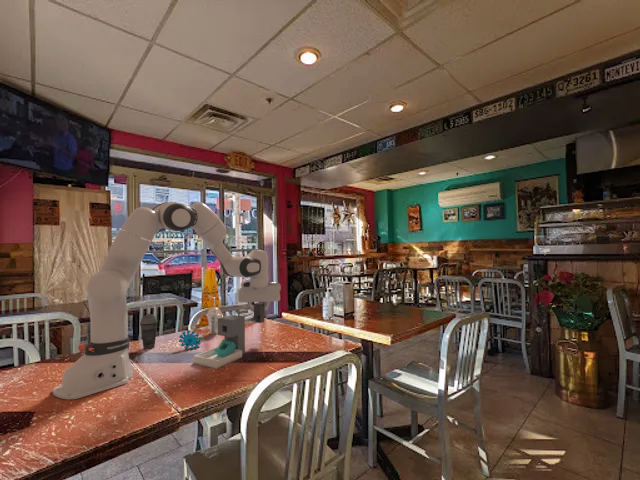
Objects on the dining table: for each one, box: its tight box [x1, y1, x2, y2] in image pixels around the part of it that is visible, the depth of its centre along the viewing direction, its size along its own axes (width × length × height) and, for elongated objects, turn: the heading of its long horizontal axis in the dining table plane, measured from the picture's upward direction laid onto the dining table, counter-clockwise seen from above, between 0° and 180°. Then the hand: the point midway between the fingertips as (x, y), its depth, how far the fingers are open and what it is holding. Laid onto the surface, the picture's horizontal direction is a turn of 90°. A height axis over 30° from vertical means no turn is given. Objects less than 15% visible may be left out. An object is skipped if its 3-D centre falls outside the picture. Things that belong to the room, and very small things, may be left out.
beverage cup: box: [139, 304, 159, 350], centre depth 146 cm, size 7×7×20 cm
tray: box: [192, 346, 243, 370], centre depth 129 cm, size 14×13×3 cm
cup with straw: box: [205, 295, 224, 335], centre depth 171 cm, size 8×9×20 cm
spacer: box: [215, 339, 236, 357], centre depth 133 cm, size 3×6×6 cm
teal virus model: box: [178, 329, 204, 351], centre depth 147 cm, size 11×6×10 cm
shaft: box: [245, 302, 265, 326], centre depth 145 cm, size 22×4×9 cm, turn 152°
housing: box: [217, 314, 246, 355], centre depth 136 cm, size 8×8×16 cm
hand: (259, 310), depth 154 cm, fingers open, 5 cm apart
